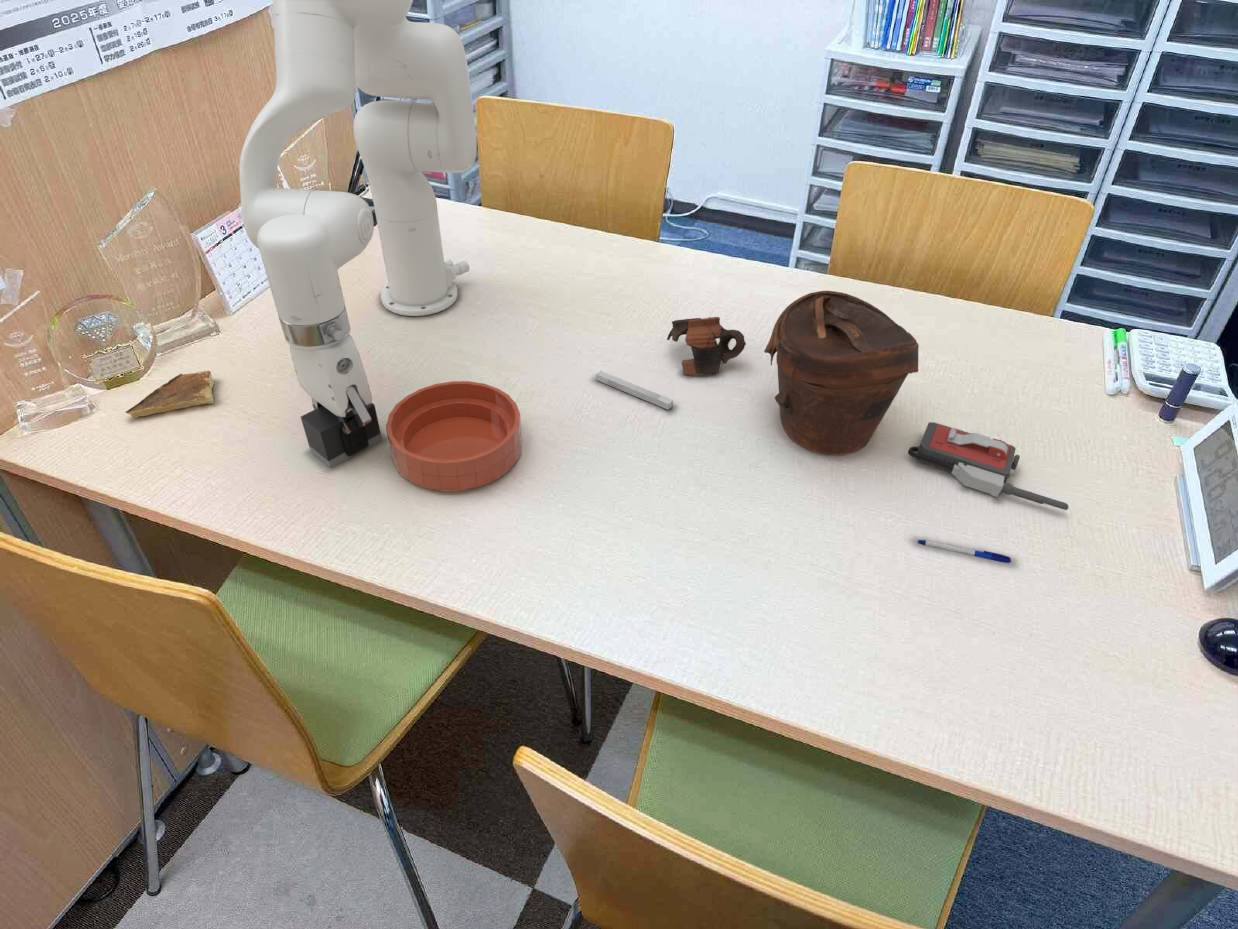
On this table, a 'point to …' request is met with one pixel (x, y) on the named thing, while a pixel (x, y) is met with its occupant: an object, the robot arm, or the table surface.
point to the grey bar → (635, 390)
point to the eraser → (334, 434)
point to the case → (837, 369)
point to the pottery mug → (706, 344)
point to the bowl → (454, 435)
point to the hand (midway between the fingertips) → (345, 440)
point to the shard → (177, 394)
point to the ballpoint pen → (968, 551)
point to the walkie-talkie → (974, 461)
